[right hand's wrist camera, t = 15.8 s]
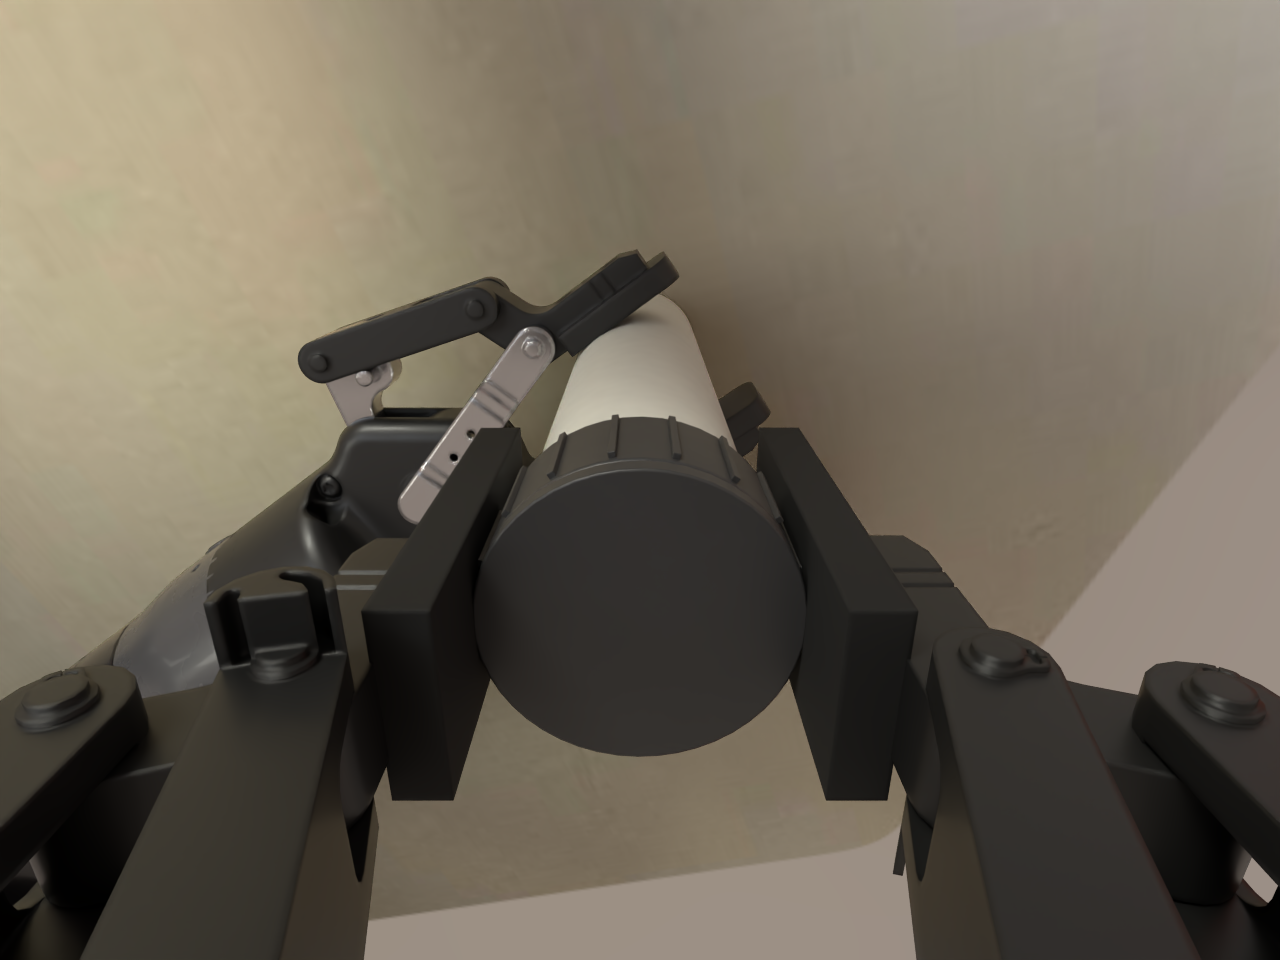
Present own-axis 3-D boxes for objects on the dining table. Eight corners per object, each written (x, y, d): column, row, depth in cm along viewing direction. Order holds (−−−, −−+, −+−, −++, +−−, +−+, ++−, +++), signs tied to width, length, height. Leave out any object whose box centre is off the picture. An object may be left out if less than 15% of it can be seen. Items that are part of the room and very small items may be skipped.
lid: (441, 567, 12) (399, 649, 10) (614, 348, 11) (607, 388, 9) (659, 708, 14) (663, 810, 11) (840, 525, 12) (885, 601, 10)
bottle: (677, 276, 27) (744, 432, 10) (706, 382, 28) (806, 676, 11) (570, 308, 27) (456, 512, 10) (604, 411, 29) (553, 737, 12)
